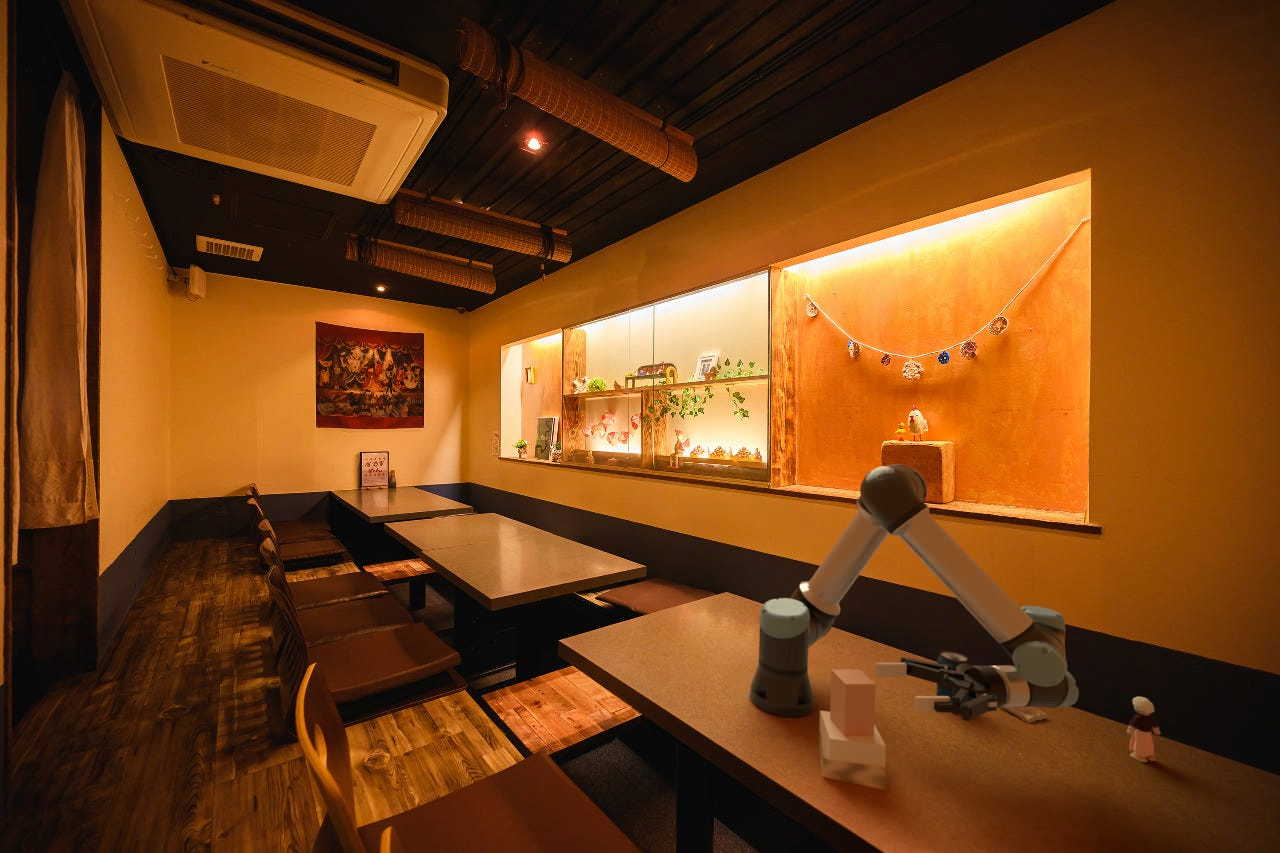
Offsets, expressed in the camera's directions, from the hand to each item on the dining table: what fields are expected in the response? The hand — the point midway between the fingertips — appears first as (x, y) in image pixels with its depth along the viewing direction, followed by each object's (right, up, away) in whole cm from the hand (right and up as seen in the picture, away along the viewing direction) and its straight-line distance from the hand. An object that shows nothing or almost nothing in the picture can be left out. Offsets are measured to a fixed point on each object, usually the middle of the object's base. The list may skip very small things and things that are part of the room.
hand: (894, 685), depth 101 cm
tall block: (-9, -8, -1) cm, 12 cm away
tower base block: (-9, -16, -1) cm, 18 cm away
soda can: (+27, -17, +24) cm, 40 cm away
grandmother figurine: (+55, -18, +5) cm, 58 cm away
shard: (+40, -18, +21) cm, 49 cm away
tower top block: (-9, -12, -1) cm, 15 cm away
